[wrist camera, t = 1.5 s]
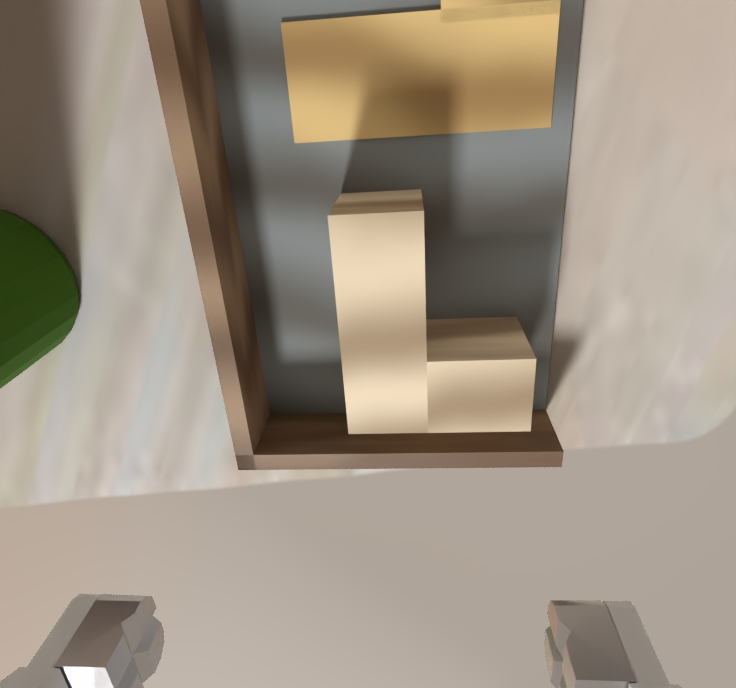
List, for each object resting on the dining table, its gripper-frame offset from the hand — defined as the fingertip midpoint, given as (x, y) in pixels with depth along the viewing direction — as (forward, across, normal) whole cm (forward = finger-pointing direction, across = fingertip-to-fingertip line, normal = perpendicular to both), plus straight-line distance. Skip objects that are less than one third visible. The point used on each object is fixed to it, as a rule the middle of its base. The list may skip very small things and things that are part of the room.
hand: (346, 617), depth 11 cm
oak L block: (+20, -3, 0) cm, 20 cm away
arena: (+20, 0, -5) cm, 21 cm away
